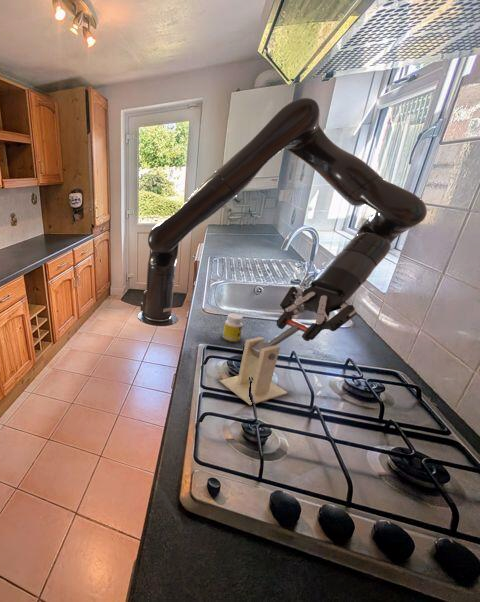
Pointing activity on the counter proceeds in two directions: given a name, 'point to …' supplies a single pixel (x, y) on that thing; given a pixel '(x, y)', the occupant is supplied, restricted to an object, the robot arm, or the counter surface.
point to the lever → (279, 336)
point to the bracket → (256, 374)
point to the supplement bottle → (233, 328)
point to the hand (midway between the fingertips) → (291, 332)
